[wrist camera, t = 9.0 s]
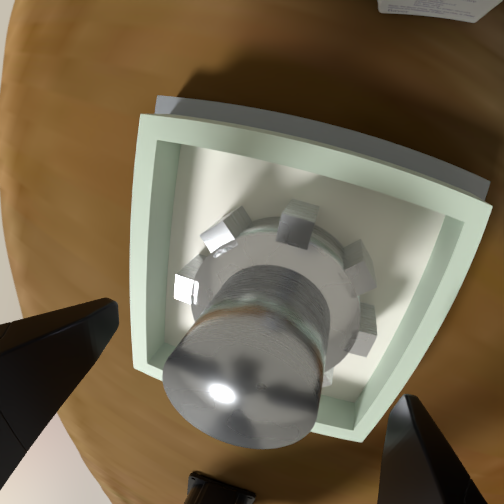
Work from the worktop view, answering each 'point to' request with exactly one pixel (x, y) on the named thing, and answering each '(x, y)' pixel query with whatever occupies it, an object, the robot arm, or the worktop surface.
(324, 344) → the gear
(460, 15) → the medicine box
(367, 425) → the square tray
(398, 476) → the robot arm
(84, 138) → the worktop surface
